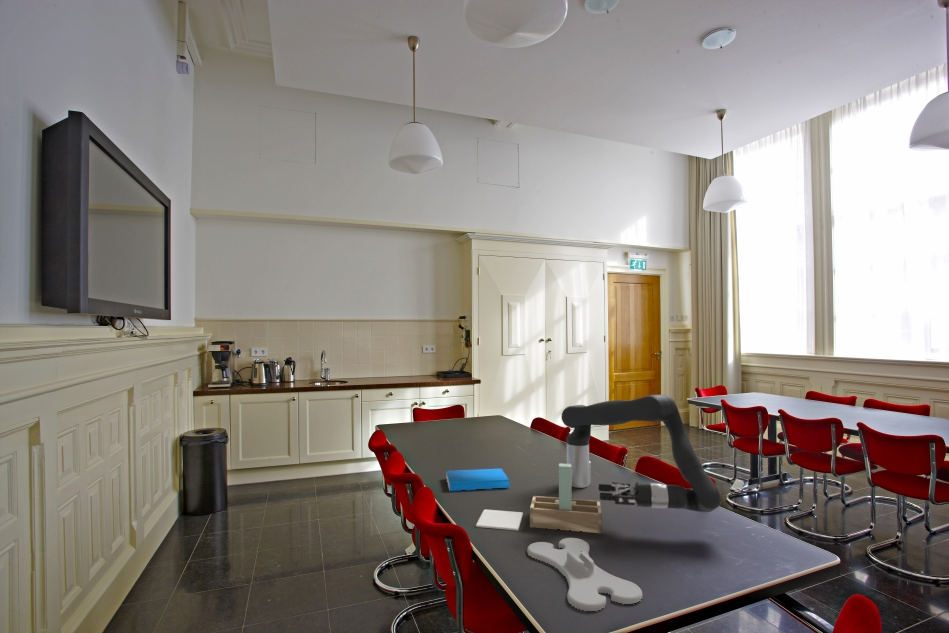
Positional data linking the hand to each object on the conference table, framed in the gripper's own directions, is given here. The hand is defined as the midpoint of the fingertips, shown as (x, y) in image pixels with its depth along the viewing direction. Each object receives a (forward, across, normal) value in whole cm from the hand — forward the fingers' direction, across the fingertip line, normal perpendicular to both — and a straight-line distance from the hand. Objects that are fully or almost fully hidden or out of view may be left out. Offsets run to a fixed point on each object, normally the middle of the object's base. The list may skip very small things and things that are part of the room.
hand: (599, 491), depth 153 cm
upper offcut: (+11, -6, +9) cm, 16 cm away
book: (+49, -36, +13) cm, 62 cm away
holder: (+7, +30, +13) cm, 33 cm away
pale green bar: (+11, 0, +12) cm, 16 cm away
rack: (+11, -3, +12) cm, 17 cm away
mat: (+33, 0, +12) cm, 35 cm away
